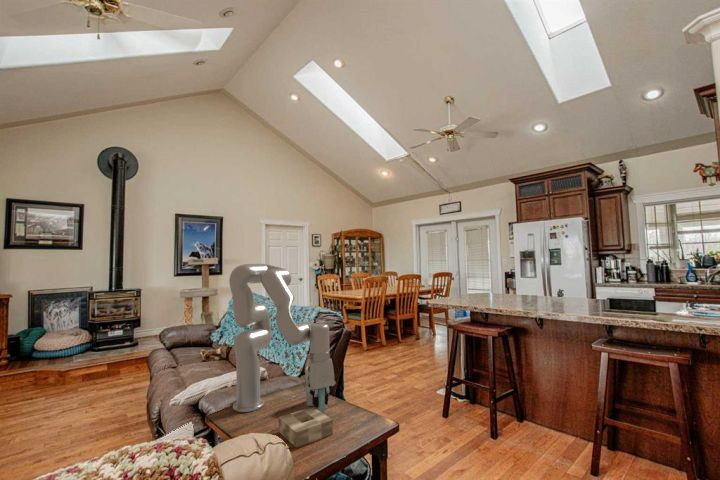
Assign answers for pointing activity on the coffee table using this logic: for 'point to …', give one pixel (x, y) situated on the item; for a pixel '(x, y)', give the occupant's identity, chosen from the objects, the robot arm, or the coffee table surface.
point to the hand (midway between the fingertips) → (320, 404)
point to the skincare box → (308, 395)
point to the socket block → (305, 426)
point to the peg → (321, 400)
